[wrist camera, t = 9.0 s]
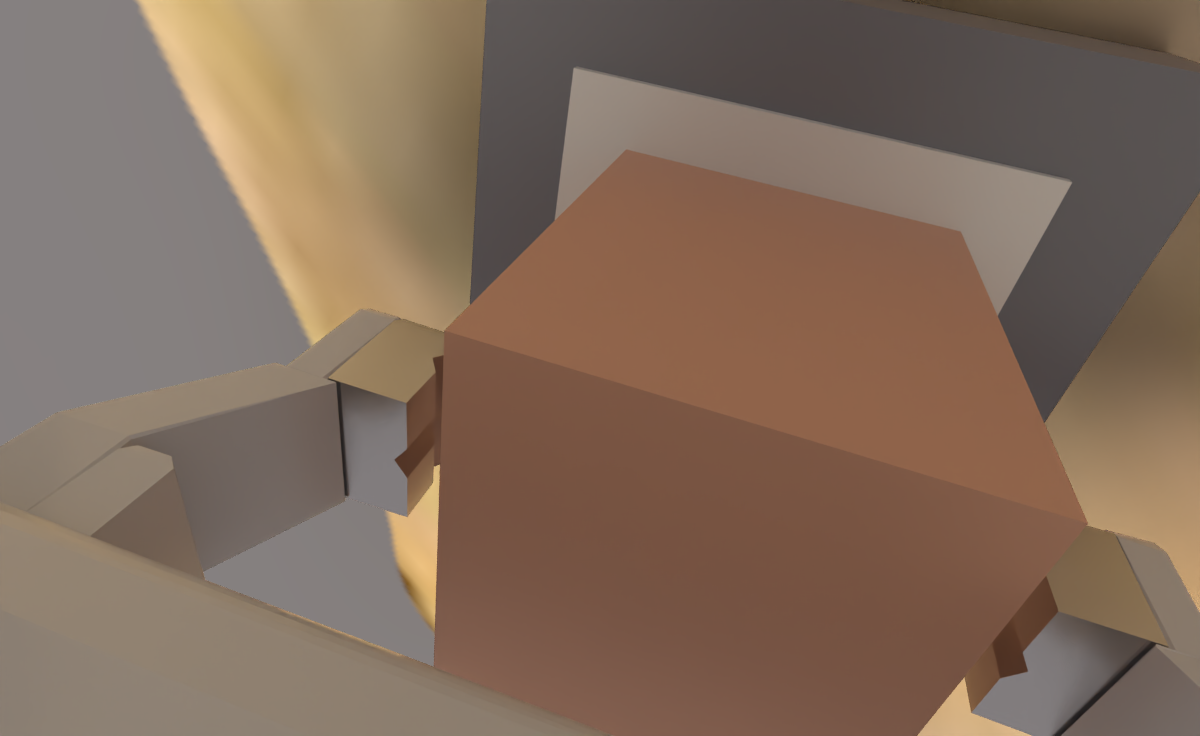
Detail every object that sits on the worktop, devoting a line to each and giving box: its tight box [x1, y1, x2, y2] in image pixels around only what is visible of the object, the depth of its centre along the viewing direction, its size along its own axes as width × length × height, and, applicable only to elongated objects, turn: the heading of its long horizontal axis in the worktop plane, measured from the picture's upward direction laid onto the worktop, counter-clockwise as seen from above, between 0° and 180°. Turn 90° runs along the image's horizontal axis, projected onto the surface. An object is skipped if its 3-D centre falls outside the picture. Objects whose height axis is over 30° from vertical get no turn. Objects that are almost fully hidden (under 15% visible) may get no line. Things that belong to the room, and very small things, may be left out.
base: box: [470, 0, 1200, 422], centre depth 13 cm, size 10×10×3 cm
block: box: [434, 149, 1088, 736], centre depth 9 cm, size 5×5×6 cm
